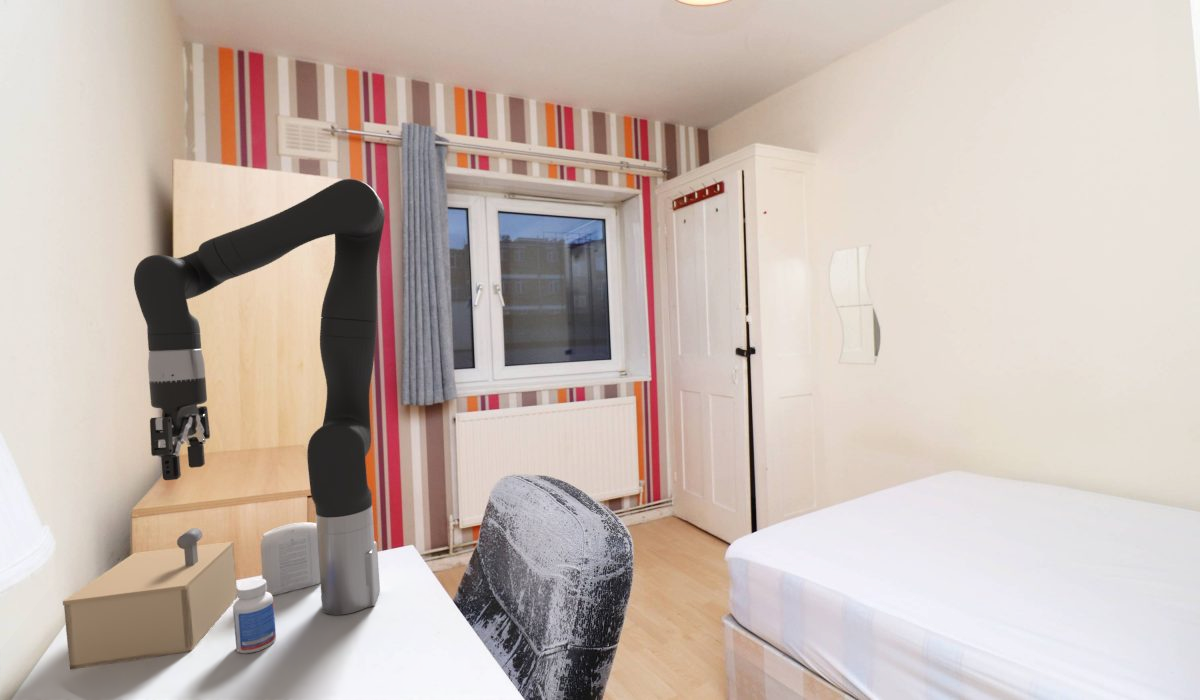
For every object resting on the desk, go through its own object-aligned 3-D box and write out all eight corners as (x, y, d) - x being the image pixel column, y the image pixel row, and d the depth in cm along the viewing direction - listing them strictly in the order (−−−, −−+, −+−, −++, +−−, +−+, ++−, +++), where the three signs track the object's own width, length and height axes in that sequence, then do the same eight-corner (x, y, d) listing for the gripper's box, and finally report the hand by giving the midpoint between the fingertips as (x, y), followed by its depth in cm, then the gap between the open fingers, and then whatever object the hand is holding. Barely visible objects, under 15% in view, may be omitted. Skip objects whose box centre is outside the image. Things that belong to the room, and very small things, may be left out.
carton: (237, 597, 105) (233, 544, 105) (191, 651, 88) (186, 588, 87) (138, 610, 101) (134, 556, 101) (69, 669, 84) (63, 604, 83)
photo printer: (322, 576, 113) (318, 515, 112) (325, 583, 109) (321, 521, 109) (262, 591, 107) (258, 527, 106) (264, 600, 104) (259, 534, 103)
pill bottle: (283, 638, 90) (279, 579, 90) (250, 657, 85) (246, 595, 85) (261, 632, 92) (257, 574, 92) (228, 650, 87) (223, 589, 87)
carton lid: (233, 544, 105) (231, 511, 104) (185, 589, 87) (182, 550, 87) (134, 556, 101) (131, 522, 101) (63, 605, 83) (59, 564, 83)
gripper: (182, 379, 87) (190, 481, 88) (221, 372, 101) (227, 461, 102) (126, 382, 86) (134, 486, 86) (173, 374, 100) (180, 464, 100)
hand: (185, 472), depth 94 cm, fingers open, 8 cm apart
